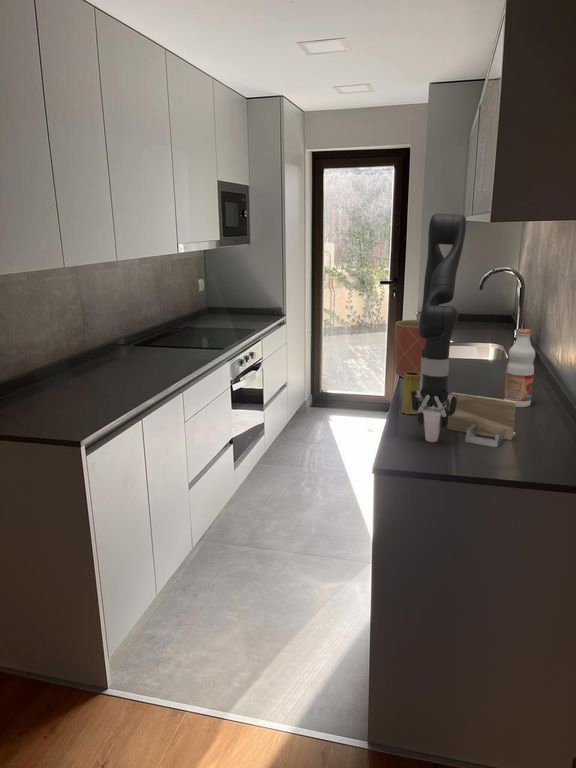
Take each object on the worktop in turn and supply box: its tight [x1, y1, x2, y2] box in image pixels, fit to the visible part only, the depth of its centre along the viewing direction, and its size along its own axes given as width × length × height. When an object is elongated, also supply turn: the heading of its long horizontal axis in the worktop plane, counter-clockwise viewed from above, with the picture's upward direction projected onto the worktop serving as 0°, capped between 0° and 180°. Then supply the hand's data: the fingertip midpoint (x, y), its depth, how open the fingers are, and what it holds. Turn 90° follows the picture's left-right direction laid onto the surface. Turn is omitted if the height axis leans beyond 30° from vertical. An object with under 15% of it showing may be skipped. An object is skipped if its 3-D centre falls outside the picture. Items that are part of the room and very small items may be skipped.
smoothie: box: [422, 405, 443, 443], centre depth 180 cm, size 6×6×14 cm
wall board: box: [446, 392, 517, 441], centre depth 187 cm, size 5×20×12 cm, turn 58°
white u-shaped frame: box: [464, 423, 505, 448], centre depth 181 cm, size 9×10×4 cm
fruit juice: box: [503, 328, 536, 408], centre depth 217 cm, size 9×9×28 cm
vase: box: [400, 372, 420, 415], centre depth 208 cm, size 6×6×14 cm
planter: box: [394, 319, 427, 377], centre depth 262 cm, size 23×23×24 cm
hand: (432, 425), depth 181 cm, fingers closed on smoothie, 6 cm apart
